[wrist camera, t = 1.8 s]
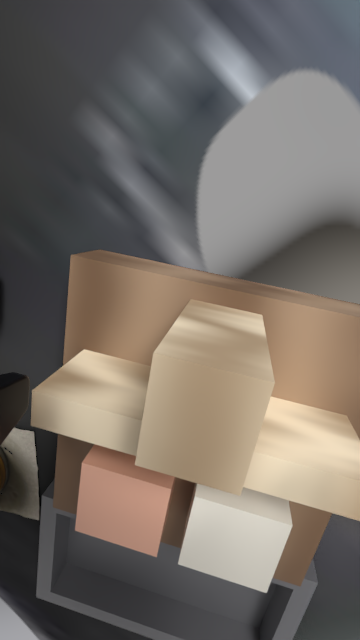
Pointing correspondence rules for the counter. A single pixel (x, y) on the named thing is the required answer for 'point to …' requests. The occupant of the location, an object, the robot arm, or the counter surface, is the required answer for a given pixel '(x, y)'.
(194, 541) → the tile cream
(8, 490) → the condiment
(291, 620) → the tray
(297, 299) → the plate
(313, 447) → the t-shaped wooden block
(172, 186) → the counter surface
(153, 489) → the tile terracotta
